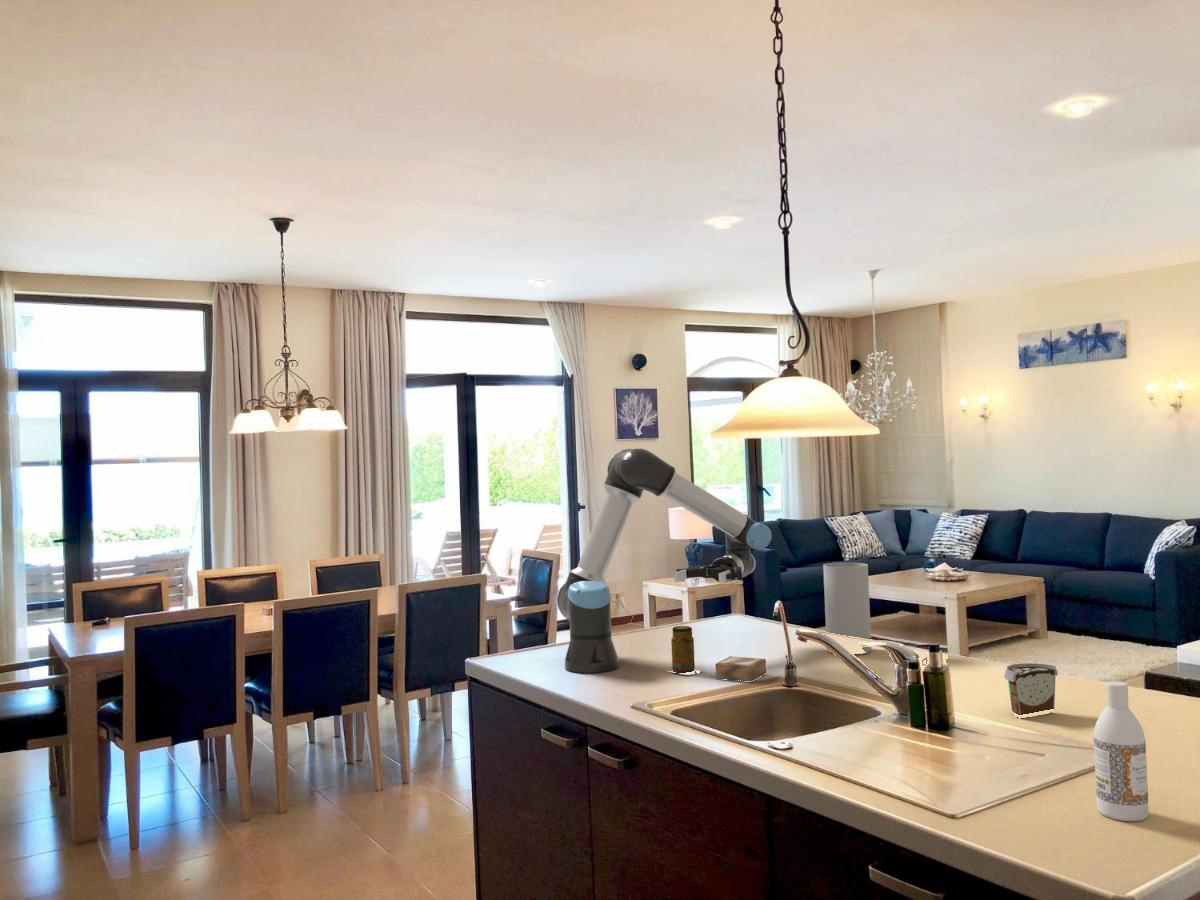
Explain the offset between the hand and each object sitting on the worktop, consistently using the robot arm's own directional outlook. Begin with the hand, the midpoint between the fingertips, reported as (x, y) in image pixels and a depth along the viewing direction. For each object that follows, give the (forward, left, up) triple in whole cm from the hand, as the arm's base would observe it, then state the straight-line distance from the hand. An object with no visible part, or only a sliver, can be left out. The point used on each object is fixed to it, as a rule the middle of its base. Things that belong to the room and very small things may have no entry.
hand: (697, 577), depth 260 cm
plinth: (+16, -10, -24) cm, 30 cm away
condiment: (0, -10, -24) cm, 26 cm away
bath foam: (+104, -75, -24) cm, 130 cm away
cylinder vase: (+33, +31, -24) cm, 51 cm away
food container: (+85, -20, -24) cm, 91 cm away
